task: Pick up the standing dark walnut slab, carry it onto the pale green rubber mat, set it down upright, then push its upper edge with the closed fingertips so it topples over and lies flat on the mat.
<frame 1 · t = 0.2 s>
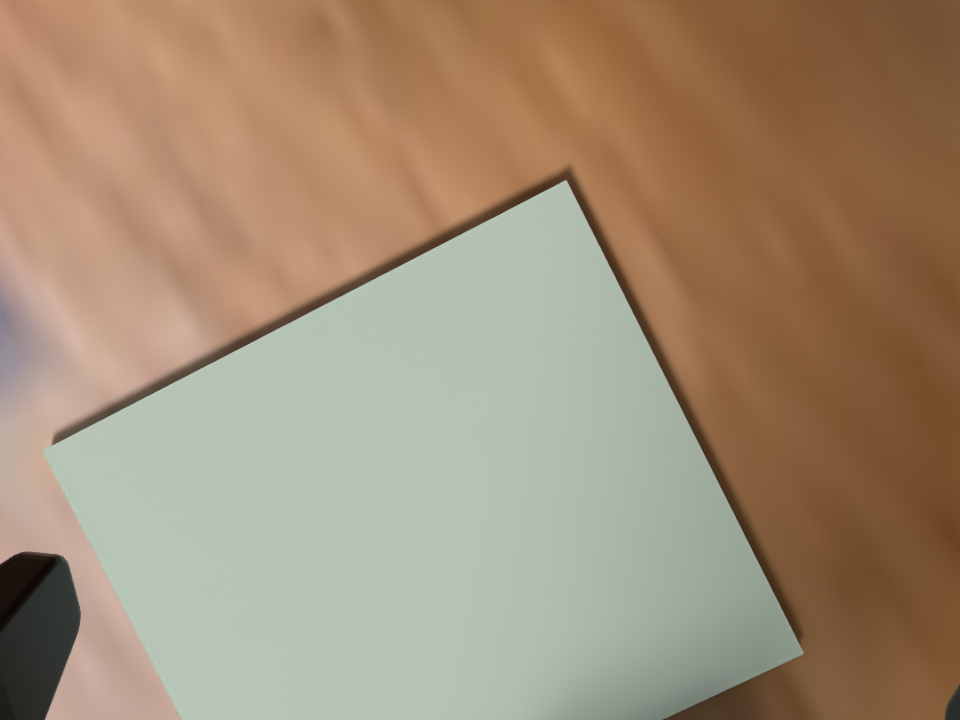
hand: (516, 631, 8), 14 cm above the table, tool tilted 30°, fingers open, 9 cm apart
mat: (418, 546, 23), on the table
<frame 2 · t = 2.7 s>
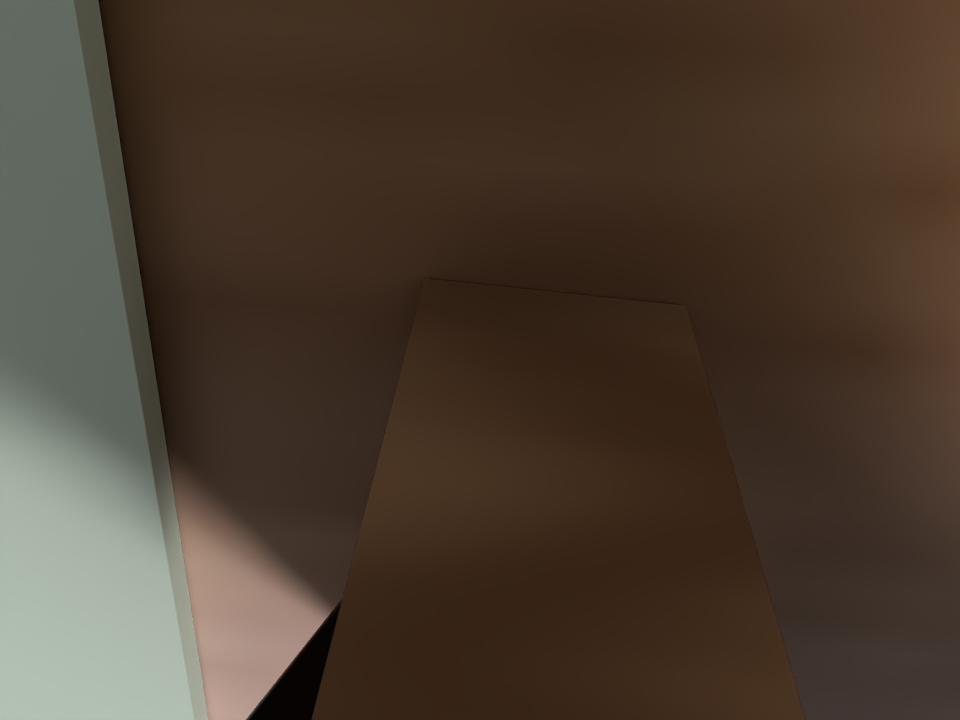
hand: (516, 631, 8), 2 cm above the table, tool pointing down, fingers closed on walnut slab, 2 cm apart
walnut slab: (520, 521, 10), on the table, touching gripper
when the fingers open (3 cm above the table, at t = 6.2 s): walnut slab drops 1 cm, resting on mat.
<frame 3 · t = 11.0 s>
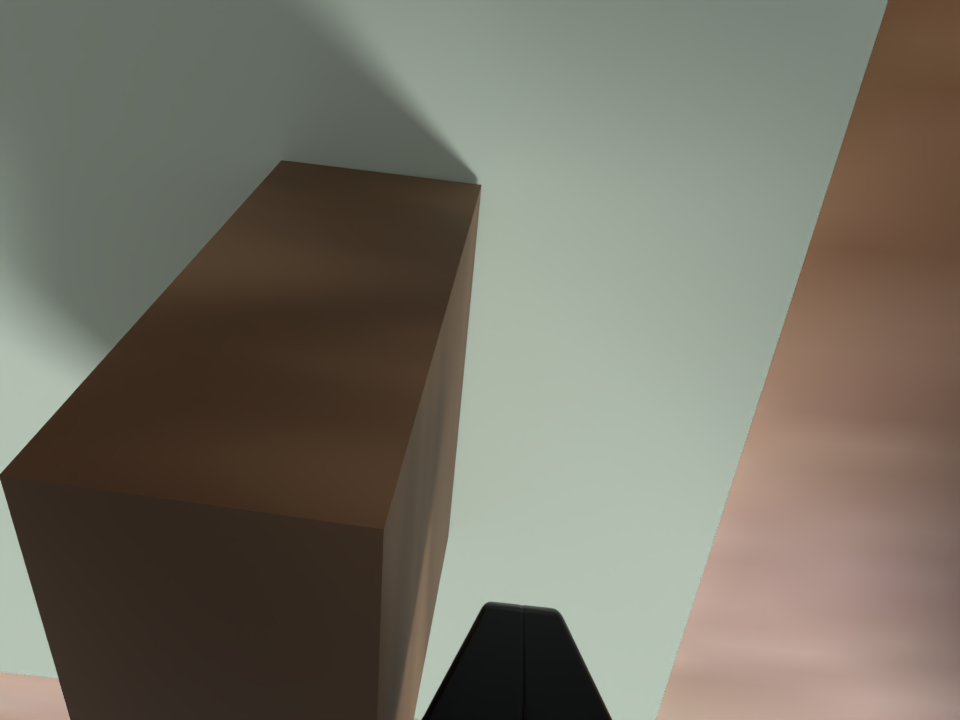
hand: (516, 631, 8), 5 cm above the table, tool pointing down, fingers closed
mat: (274, 349, 12), on the table
walnut slab: (375, 373, 12), resting on mat, touching gripper
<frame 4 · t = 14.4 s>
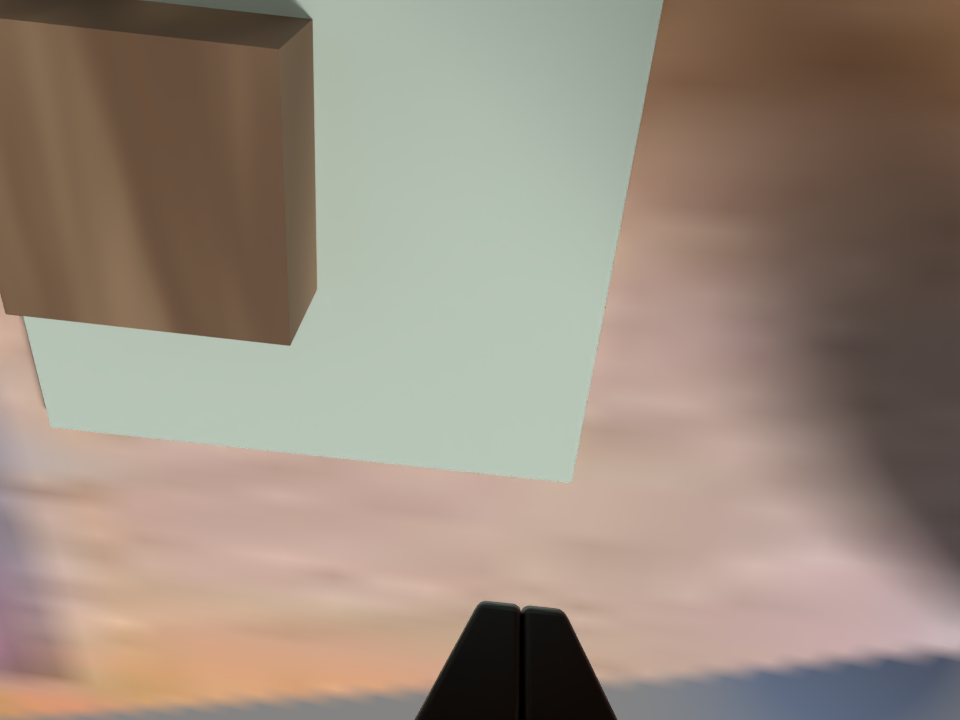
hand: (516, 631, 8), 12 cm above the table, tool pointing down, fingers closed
mat: (305, 161, 18), on the table
walnut slab: (301, 188, 17), point 2 cm above the table, tilted 90°, touching mat
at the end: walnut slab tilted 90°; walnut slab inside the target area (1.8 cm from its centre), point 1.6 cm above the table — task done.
